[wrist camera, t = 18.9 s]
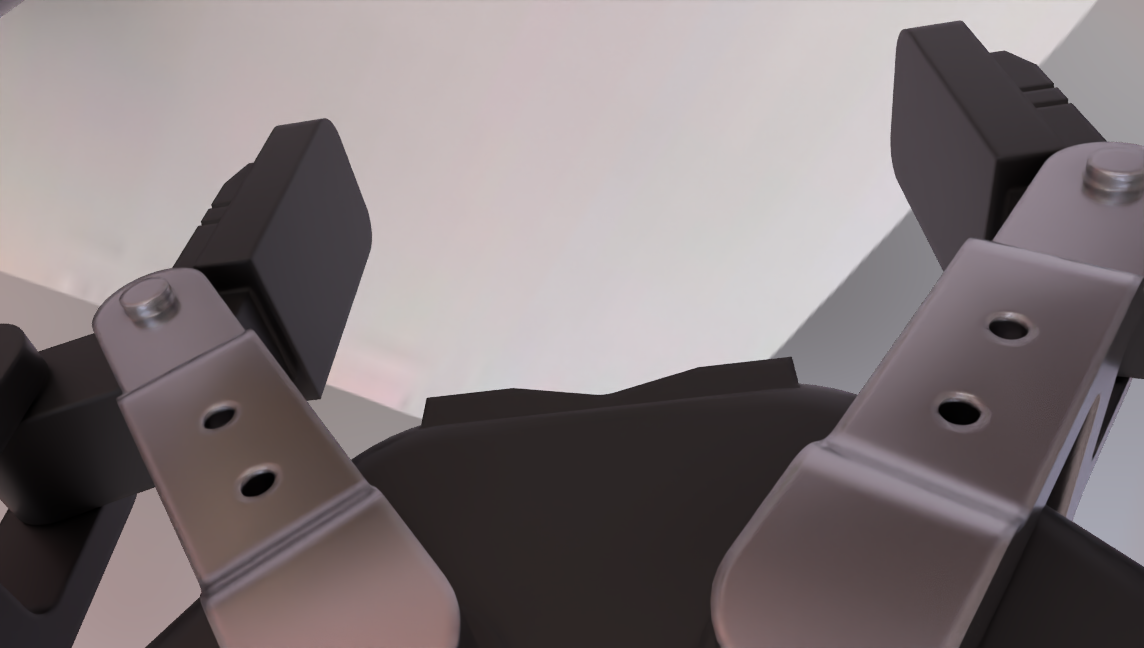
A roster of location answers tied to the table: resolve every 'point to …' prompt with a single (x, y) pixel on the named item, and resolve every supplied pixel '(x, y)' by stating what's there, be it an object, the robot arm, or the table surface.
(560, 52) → the table surface
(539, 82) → the table surface
